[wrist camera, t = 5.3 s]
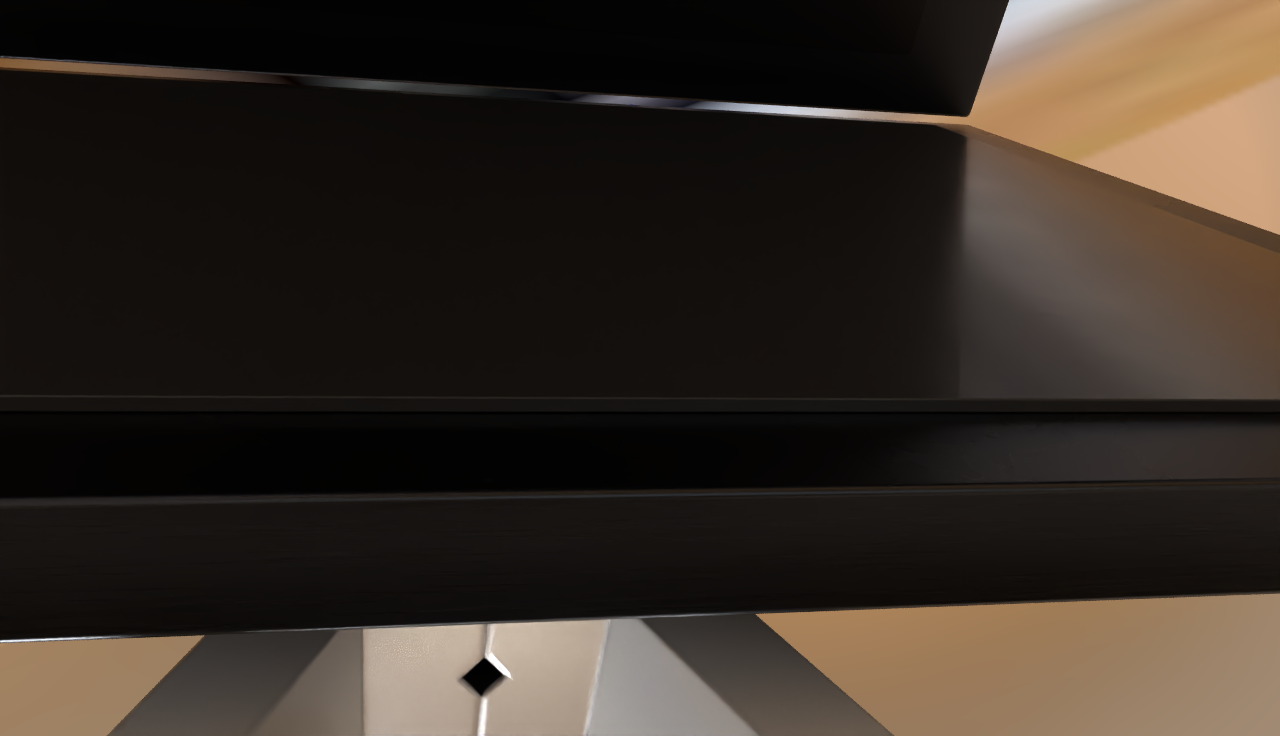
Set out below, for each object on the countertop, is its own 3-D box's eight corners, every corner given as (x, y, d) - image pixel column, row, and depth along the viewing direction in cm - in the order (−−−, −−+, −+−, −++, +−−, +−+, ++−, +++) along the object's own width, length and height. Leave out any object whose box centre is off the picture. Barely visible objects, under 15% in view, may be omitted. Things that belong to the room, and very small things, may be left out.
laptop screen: (-2581, 511, 4) (-2364, 740, 4) (1963, 458, 8) (1904, 571, 8) (-249, 45, 17) (-238, 106, 18) (970, 119, 22) (961, 167, 22)
